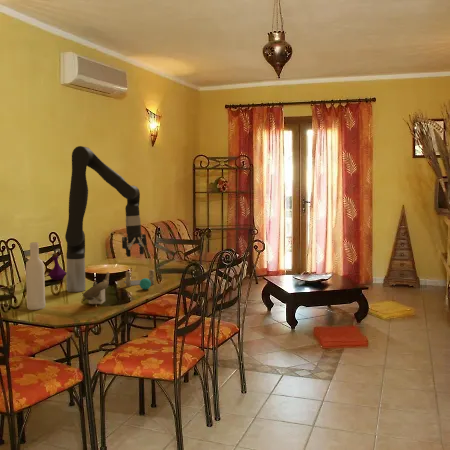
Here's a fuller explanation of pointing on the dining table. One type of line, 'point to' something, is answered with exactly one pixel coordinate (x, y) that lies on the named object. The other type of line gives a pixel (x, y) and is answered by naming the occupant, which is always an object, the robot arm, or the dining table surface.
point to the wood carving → (97, 291)
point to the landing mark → (135, 282)
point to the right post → (151, 276)
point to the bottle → (35, 279)
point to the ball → (145, 283)
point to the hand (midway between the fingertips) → (135, 255)
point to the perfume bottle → (56, 268)
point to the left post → (128, 279)
